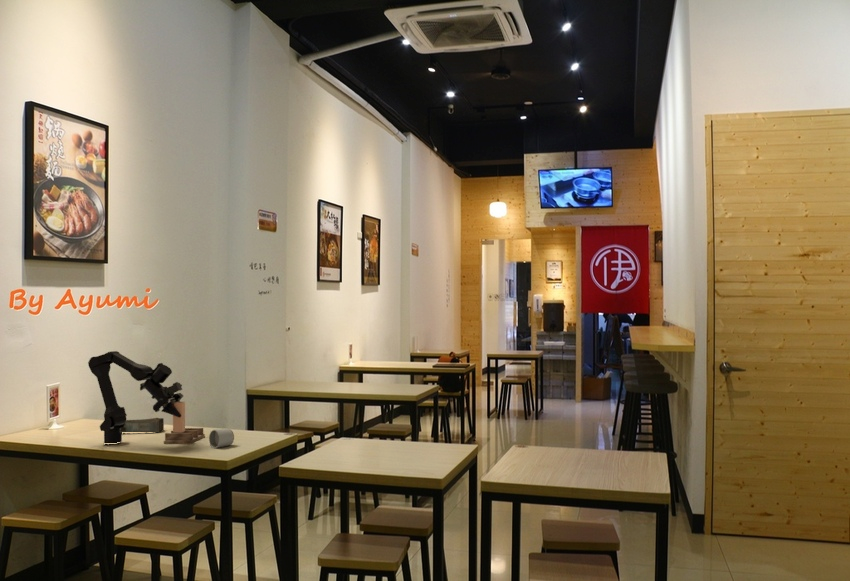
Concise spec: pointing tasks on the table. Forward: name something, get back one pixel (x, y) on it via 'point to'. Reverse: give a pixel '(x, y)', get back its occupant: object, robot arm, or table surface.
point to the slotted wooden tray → (184, 436)
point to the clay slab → (179, 422)
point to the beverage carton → (144, 425)
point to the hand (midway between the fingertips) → (182, 416)
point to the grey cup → (221, 438)
